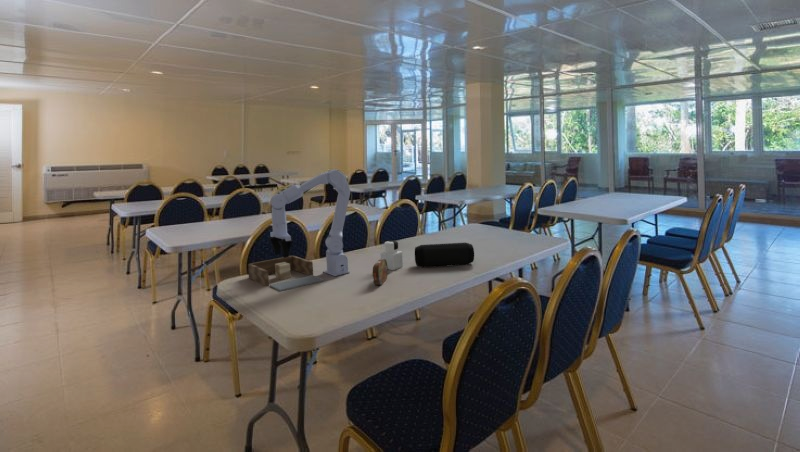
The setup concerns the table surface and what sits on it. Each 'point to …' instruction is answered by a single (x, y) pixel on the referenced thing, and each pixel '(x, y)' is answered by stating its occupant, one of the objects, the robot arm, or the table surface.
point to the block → (282, 270)
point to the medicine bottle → (392, 255)
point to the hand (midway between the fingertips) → (281, 255)
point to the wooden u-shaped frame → (264, 268)
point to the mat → (296, 283)
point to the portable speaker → (444, 254)
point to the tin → (380, 272)
